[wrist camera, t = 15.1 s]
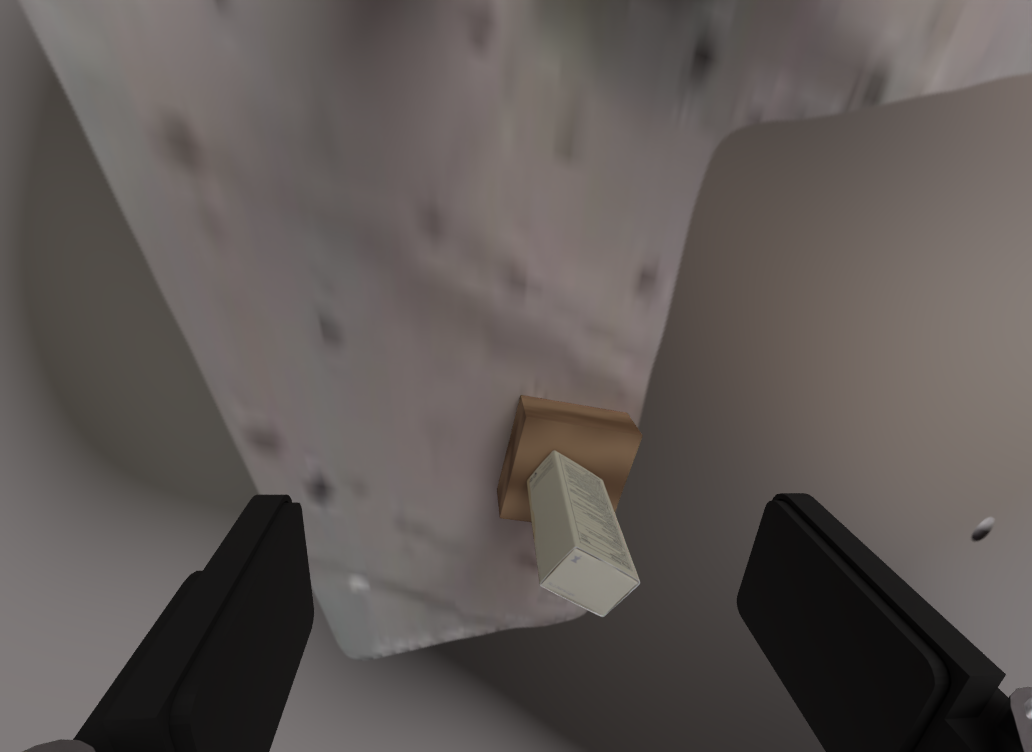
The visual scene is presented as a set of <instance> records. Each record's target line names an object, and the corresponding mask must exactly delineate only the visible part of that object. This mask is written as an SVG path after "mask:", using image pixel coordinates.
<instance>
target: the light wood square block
mask: <svg viewBox="0 0 1032 752" xmlns="http://www.w3.org/2000/svg"><path fill="white" fill-rule="evenodd" d="M641 439H642V434H641V433H640V431H639V430H638V428H637V427H636V425H635V424H634V422H633V421H632V419H631V418H630V417H629V415H628V414H627V413H624V412H618V411H612V410H606V409H600V408H594V407H588V406H582V405H577V404H571V403H565V402H559V401H553V400H547V399H541V398H535V397H529V396H523V395H521V396H520V400H519V404H518V408H517V412H516V416H515V420H514V424H513V428H512V432H511V436H510V440H509V444H508V448H507V452H506V456H505V460H504V464H503V468H502V472H501V476H500V480H499V484H498V488H497V494H498V504H499V514H500V518H503V519H511V520H519V521H527V522H532V521H531V512H530V505H529V496H528V488H527V480H528V479H529V477H530V476H531V475H532V474H533V473H534V471H535V470H536V469H537V468H538V467H539V466H540V464H541V463H542V462H543V461H544V460H545V459H546V458H547V457H548V455H549V454H550V453H551V452H552V451H553V450H555V451H557V452H559V453H560V454H562V455H564V456H565V457H567V458H569V459H570V460H572V461H574V462H575V463H577V464H578V465H580V466H582V467H583V468H585V469H586V470H588V471H590V472H591V473H593V474H594V475H596V476H597V477H599V478H600V479H602V480H603V482H604V485H605V488H606V491H607V493H608V496H609V499H610V501H611V504H612V507H613V510H614V512H615V510H616V507H617V505H618V502H619V499H620V496H621V494H622V491H623V488H624V485H625V483H626V480H627V477H628V474H629V471H630V469H631V466H632V463H633V461H634V458H635V455H636V452H637V450H638V447H639V444H640V441H641Z"/></svg>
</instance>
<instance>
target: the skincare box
mask: <svg viewBox="0 0 1032 752" xmlns="http://www.w3.org/2000/svg"><path fill="white" fill-rule="evenodd" d="M527 488H528V496H529V505H530V512H531V521H532V529H533V536H534V544H535V552H536V560H537V568H538V576H539V584H540V586H541V587H543V588H545V589H547V590H549V591H550V592H552V593H554V594H556V595H558V596H560V597H562V598H564V599H566V600H568V601H570V602H572V603H574V604H576V605H578V606H580V607H582V608H584V609H586V610H589V611H591V612H593V613H595V614H597V615H599V616H601V617H604V616H605V615H606V614H607V613H609V612H610V611H611V610H612V609H613V608H614V607H615V606H616V605H617V604H619V603H620V602H621V601H622V600H623V599H624V598H625V597H626V596H627V595H628V594H630V593H631V592H632V591H633V590H634V589H635V588H636V587H637V586H638V585H639V584H640V580H639V577H638V575H637V572H636V569H635V567H634V564H633V562H632V559H631V556H630V553H629V551H628V548H627V545H626V542H625V539H624V537H623V534H622V532H621V529H620V526H619V524H618V521H617V518H616V515H615V512H614V510H613V507H612V504H611V501H610V499H609V496H608V493H607V491H606V488H605V485H604V482H603V480H602V479H600V478H599V477H597V476H596V475H594V474H593V473H591V472H590V471H588V470H586V469H585V468H583V467H582V466H580V465H578V464H577V463H575V462H574V461H572V460H570V459H569V458H567V457H565V456H564V455H562V454H560V453H559V452H557V451H555V450H553V451H552V452H551V453H550V454H549V455H548V457H547V458H546V459H545V460H544V461H543V462H542V463H541V464H540V466H539V467H538V468H537V469H536V470H535V471H534V473H533V474H532V475H531V476H530V477H529V479H528V480H527Z"/></svg>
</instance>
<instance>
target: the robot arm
mask: <svg viewBox="0 0 1032 752" xmlns="http://www.w3.org/2000/svg"><path fill="white" fill-rule="evenodd" d="M737 607H738V610H739V613H740V615H741V617H742V619H743V620H744V622H745V624H746V625H747V627H748V628H749V630H750V632H751V633H752V635H753V636H754V638H755V640H756V641H757V643H758V644H759V646H760V648H761V649H762V651H763V652H764V654H765V655H766V657H767V659H768V660H769V662H770V663H771V665H772V667H773V668H774V670H775V671H776V673H777V675H778V676H779V678H780V679H781V681H782V683H783V684H784V686H785V687H786V689H787V691H788V692H789V694H790V695H791V697H792V699H793V700H794V702H795V703H796V705H797V707H798V708H799V710H800V711H801V713H802V714H803V716H804V717H805V719H806V721H807V722H808V724H809V726H810V727H811V729H812V730H813V732H814V734H815V735H816V737H817V738H818V740H819V742H820V743H821V745H822V746H823V748H824V749H825V751H826V752H1032V687H1023V688H1018V689H1016V690H1015V691H1014V692H1013V693H1012V694H1011V695H1010V696H1009V698H1008V697H1007V696H1006V695H1005V694H1004V693H1003V692H1002V691H1001V690H1000V689H999V688H998V686H999V685H1000V683H1001V681H1002V680H1003V678H1004V677H1005V675H1006V674H1005V673H1004V672H1003V671H1002V670H1001V669H999V668H998V667H997V666H996V665H995V664H994V663H993V662H992V661H991V660H990V659H989V658H987V657H986V656H985V655H984V654H983V653H982V652H981V651H980V650H979V649H978V648H977V647H975V646H974V645H973V644H972V643H971V642H970V641H969V640H968V639H967V638H965V636H964V635H962V634H961V633H960V632H959V631H958V630H957V629H956V628H955V627H954V626H952V625H951V624H950V623H949V622H948V621H947V620H946V619H945V618H944V617H943V616H942V615H940V613H938V612H937V611H936V610H935V609H934V608H933V607H932V606H931V605H930V604H928V603H927V602H926V601H925V600H924V599H923V598H922V597H921V596H920V595H919V594H918V593H917V592H916V591H914V590H913V589H912V588H911V587H910V586H909V585H908V584H907V583H906V582H905V581H904V580H902V579H901V578H900V577H899V576H898V575H897V574H896V573H895V572H894V571H893V570H891V568H889V567H888V566H887V565H886V564H885V563H884V562H883V561H882V560H881V559H880V558H879V557H877V556H876V555H875V554H874V553H873V552H872V551H871V550H870V549H869V548H868V547H867V546H865V545H864V544H863V543H862V542H861V541H860V540H859V539H858V538H857V537H856V536H854V535H853V534H852V533H851V532H850V531H849V530H848V529H847V528H846V527H845V526H844V525H843V524H842V523H840V522H839V521H838V520H837V519H836V518H835V517H834V516H833V515H832V514H831V513H830V512H828V511H827V510H826V509H825V508H824V507H823V506H822V505H821V504H820V503H818V501H816V500H815V499H814V498H813V497H812V496H810V495H808V494H804V493H801V494H800V493H789V494H787V493H784V494H783V493H782V494H777V495H776V496H775V497H774V498H773V500H772V501H769V502H768V503H767V505H766V507H765V510H764V513H763V516H762V519H761V522H760V526H759V529H758V532H757V535H756V538H755V541H754V545H753V548H752V551H751V555H750V557H749V561H748V564H747V567H746V570H745V573H744V576H743V580H742V583H741V586H740V589H739V592H738V596H737ZM313 617H314V606H313V597H312V589H311V581H310V573H309V564H308V556H307V548H306V540H305V532H304V524H303V515H302V508H301V505H300V503H292V500H291V498H290V496H289V495H255V496H254V497H253V498H252V499H251V500H250V502H249V503H248V505H247V506H246V508H245V509H244V510H243V512H242V513H241V515H240V517H239V518H238V520H237V521H236V522H235V524H234V525H233V527H232V528H231V530H230V531H229V533H228V534H227V536H226V537H225V539H224V540H223V542H222V543H221V545H220V546H219V548H218V549H217V551H216V552H215V553H214V555H213V556H212V558H211V559H210V561H209V562H208V564H207V565H206V567H205V568H204V570H203V571H196V572H194V573H193V574H191V575H190V576H189V577H188V578H187V579H186V580H185V581H184V582H183V584H182V585H181V587H180V588H179V590H178V591H177V592H176V594H175V595H174V597H173V598H172V600H171V601H170V602H169V604H168V605H167V607H166V608H165V610H164V611H163V612H162V614H161V615H160V617H159V618H158V620H157V621H156V622H155V624H154V625H153V627H152V628H151V630H150V631H149V632H148V634H147V635H146V637H145V638H144V639H143V641H142V642H141V644H140V645H139V646H138V648H137V649H136V651H135V652H134V654H133V655H132V657H131V658H130V659H129V661H128V662H127V664H126V665H125V667H124V668H123V669H122V671H121V672H120V674H119V675H118V676H117V678H116V679H115V681H114V682H113V684H112V685H111V686H110V688H109V689H108V691H107V692H106V693H105V695H104V696H103V698H102V699H101V701H100V702H99V704H98V705H97V706H96V708H95V709H94V711H93V712H92V713H91V715H90V716H89V718H88V719H87V721H86V722H85V723H84V725H83V726H82V728H81V729H80V731H79V732H78V734H77V735H76V736H75V738H74V739H73V740H56V741H52V742H48V743H44V744H40V745H36V746H34V747H32V748H30V749H27V750H25V751H23V752H269V751H270V748H271V745H272V742H273V739H274V736H275V733H276V730H277V728H278V725H279V722H280V719H281V716H282V713H283V710H284V707H285V704H286V702H287V699H288V695H289V693H290V690H291V687H292V684H293V681H294V678H295V675H296V672H297V670H298V667H299V664H300V660H301V658H302V655H303V652H304V649H305V646H306V644H307V640H308V638H309V635H310V632H311V629H312V624H313Z"/></svg>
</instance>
